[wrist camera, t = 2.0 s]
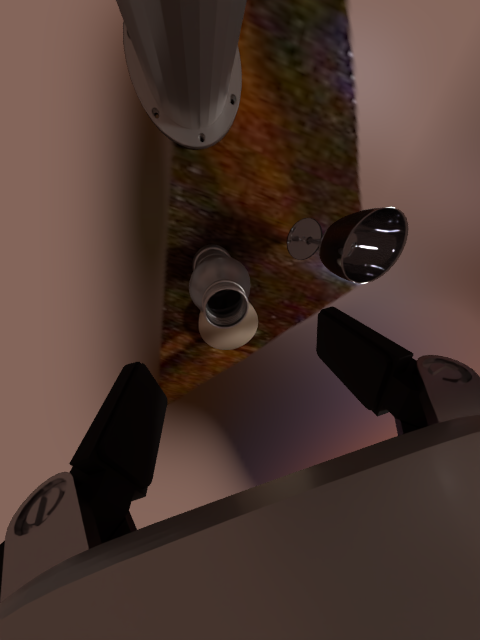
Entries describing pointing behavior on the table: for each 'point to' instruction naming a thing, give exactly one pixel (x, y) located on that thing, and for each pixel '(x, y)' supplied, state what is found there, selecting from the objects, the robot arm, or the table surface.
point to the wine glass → (353, 243)
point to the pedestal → (229, 331)
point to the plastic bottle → (219, 287)
